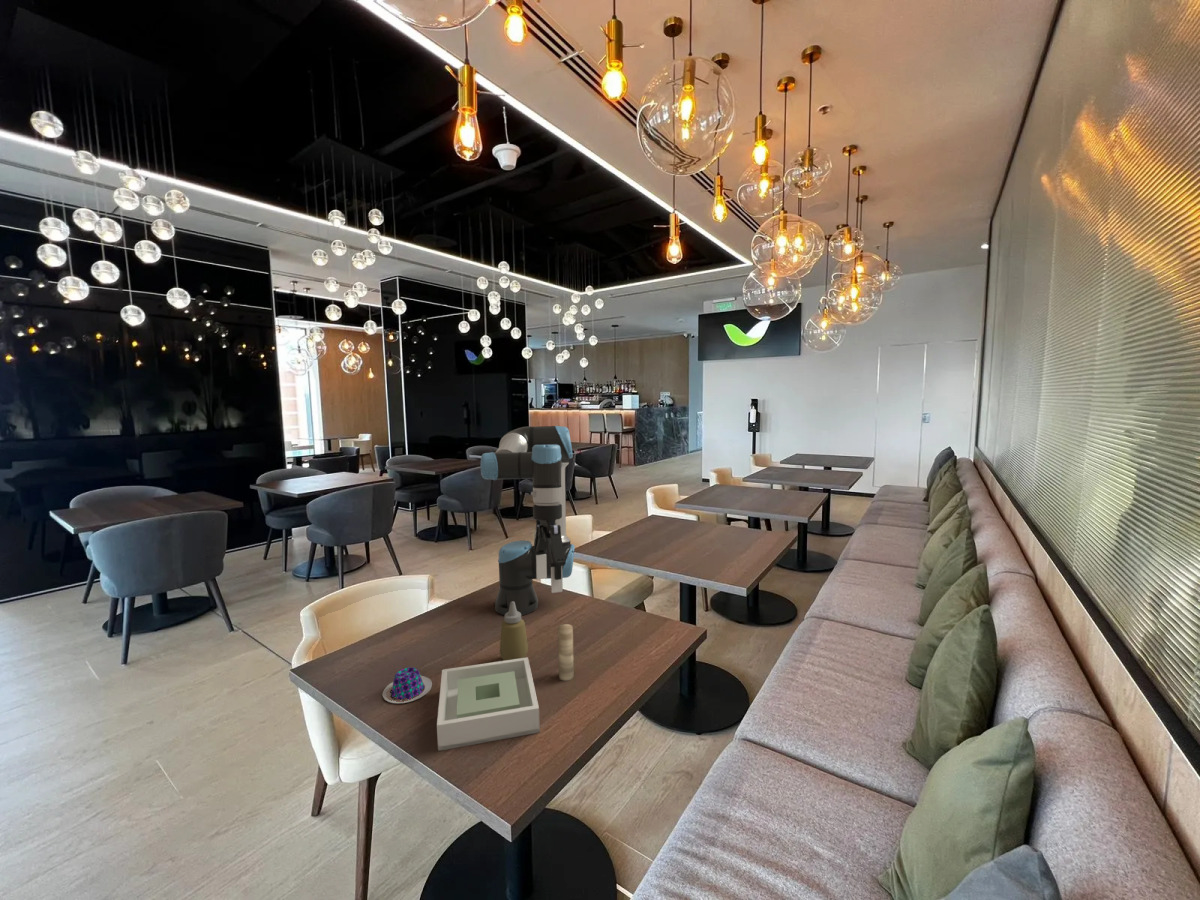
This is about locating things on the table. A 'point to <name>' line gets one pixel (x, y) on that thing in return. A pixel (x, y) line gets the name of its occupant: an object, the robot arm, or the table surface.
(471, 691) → the bore plate
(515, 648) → the squeeze bottle
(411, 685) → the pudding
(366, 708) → the table surface
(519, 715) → the open box
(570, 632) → the peg
